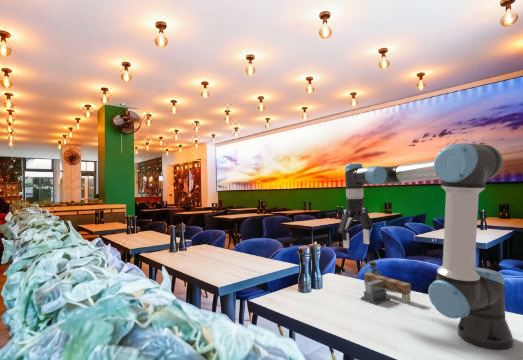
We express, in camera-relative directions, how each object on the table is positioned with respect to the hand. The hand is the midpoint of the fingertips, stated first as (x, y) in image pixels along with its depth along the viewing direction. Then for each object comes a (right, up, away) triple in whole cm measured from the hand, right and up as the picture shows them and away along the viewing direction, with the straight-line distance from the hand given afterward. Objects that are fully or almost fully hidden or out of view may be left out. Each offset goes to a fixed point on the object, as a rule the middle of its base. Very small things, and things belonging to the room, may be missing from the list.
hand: (356, 245), depth 142 cm
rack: (+16, -25, +6) cm, 30 cm away
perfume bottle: (+15, -25, +21) cm, 36 cm away
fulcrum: (+9, -25, +2) cm, 27 cm away
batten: (+16, -21, +6) cm, 27 cm away
